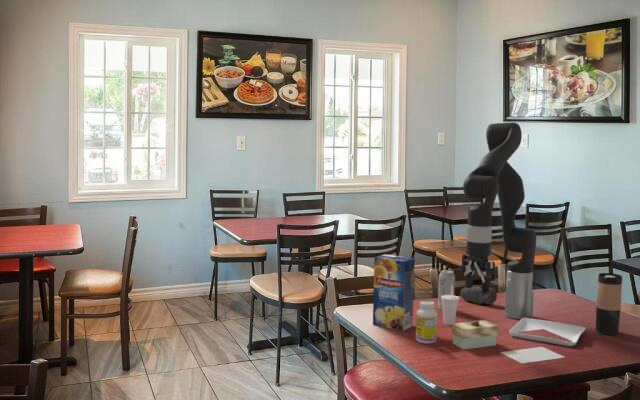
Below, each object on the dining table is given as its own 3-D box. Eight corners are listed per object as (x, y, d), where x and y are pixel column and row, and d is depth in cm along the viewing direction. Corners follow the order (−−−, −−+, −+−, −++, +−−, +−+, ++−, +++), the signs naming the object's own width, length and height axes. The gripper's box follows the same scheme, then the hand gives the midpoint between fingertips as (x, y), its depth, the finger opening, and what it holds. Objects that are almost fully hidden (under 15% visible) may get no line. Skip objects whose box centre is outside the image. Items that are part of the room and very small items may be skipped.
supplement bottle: (413, 337, 212) (414, 299, 210) (433, 337, 212) (434, 299, 211) (418, 344, 205) (419, 305, 204) (438, 344, 206) (440, 305, 204)
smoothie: (458, 327, 225) (459, 287, 223) (439, 325, 226) (441, 286, 224) (458, 321, 231) (459, 283, 229) (440, 320, 232) (441, 282, 231)
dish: (484, 342, 208) (484, 329, 207) (495, 348, 202) (496, 334, 202) (452, 346, 203) (453, 333, 203) (463, 353, 198) (464, 338, 197)
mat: (541, 350, 201) (542, 346, 201) (564, 361, 192) (565, 357, 192) (499, 356, 195) (500, 352, 195) (521, 367, 186) (521, 363, 186)
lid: (485, 329, 208) (486, 317, 207) (498, 334, 202) (498, 322, 201) (451, 333, 203) (452, 320, 202) (463, 339, 197) (463, 326, 196)
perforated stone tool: (457, 300, 260) (457, 284, 260) (463, 298, 264) (464, 282, 264) (491, 307, 251) (492, 290, 250) (497, 305, 255) (498, 288, 254)
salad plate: (522, 325, 229) (523, 316, 229) (586, 335, 218) (586, 326, 218) (507, 341, 211) (507, 331, 211) (575, 353, 200) (576, 342, 200)
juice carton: (412, 325, 225) (415, 258, 223) (403, 330, 219) (405, 261, 217) (382, 319, 232) (384, 254, 229) (372, 324, 226) (374, 257, 223)
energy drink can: (455, 312, 243) (456, 273, 242) (439, 311, 243) (440, 273, 242) (452, 307, 249) (453, 270, 248) (436, 307, 249) (438, 269, 248)
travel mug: (617, 330, 224) (621, 274, 222) (620, 336, 217) (623, 278, 215) (593, 327, 227) (597, 272, 225) (595, 333, 219) (599, 276, 217)
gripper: (503, 242, 194) (501, 295, 196) (475, 235, 207) (473, 284, 209) (482, 244, 191) (480, 297, 193) (455, 236, 204) (453, 286, 206)
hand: (476, 290), depth 201 cm, fingers open, 8 cm apart
